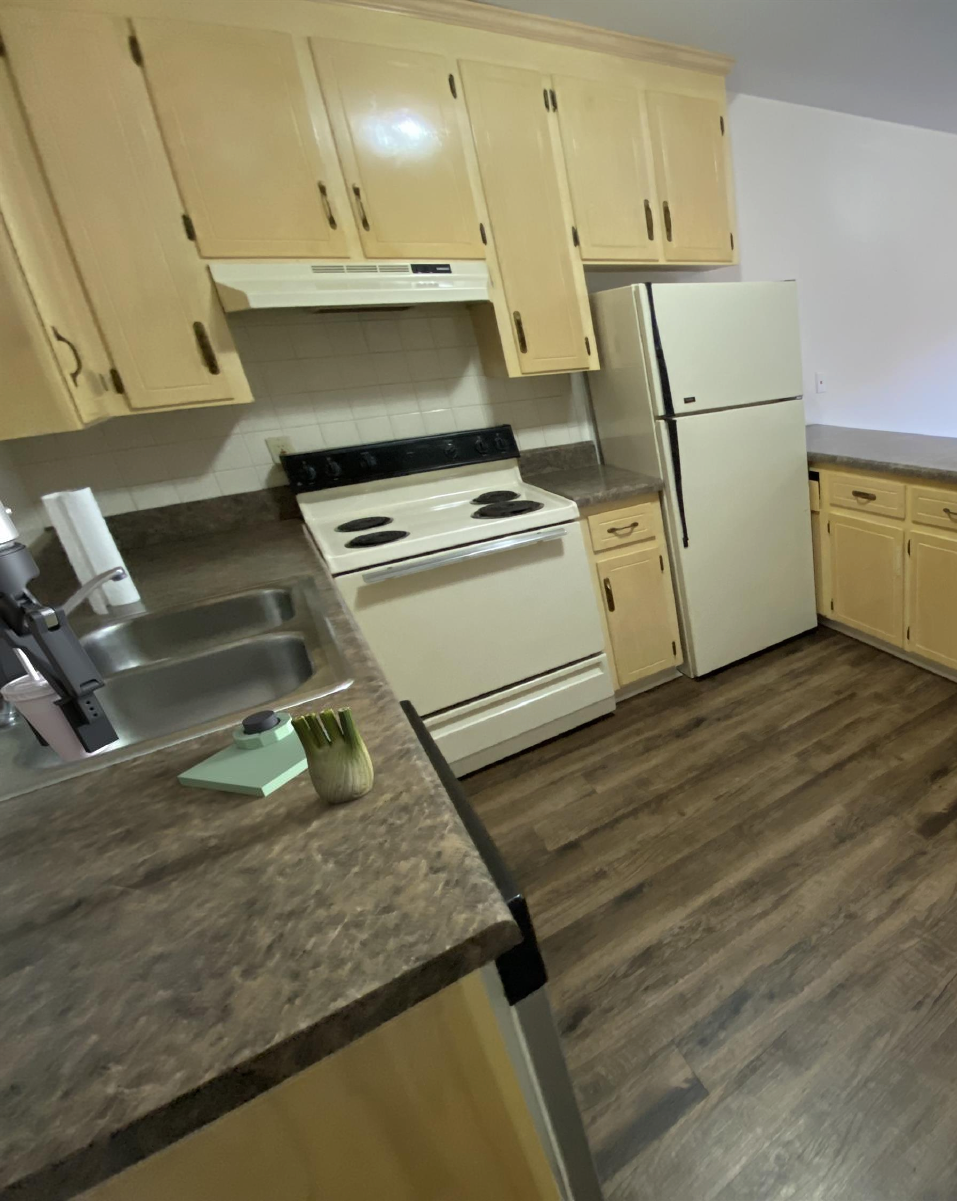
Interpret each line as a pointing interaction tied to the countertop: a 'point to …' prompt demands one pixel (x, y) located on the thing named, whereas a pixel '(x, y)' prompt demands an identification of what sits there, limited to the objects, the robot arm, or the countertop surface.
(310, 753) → the fennel bulb
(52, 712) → the smoothie
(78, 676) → the robot arm
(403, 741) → the countertop surface
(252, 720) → the button
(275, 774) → the scale
